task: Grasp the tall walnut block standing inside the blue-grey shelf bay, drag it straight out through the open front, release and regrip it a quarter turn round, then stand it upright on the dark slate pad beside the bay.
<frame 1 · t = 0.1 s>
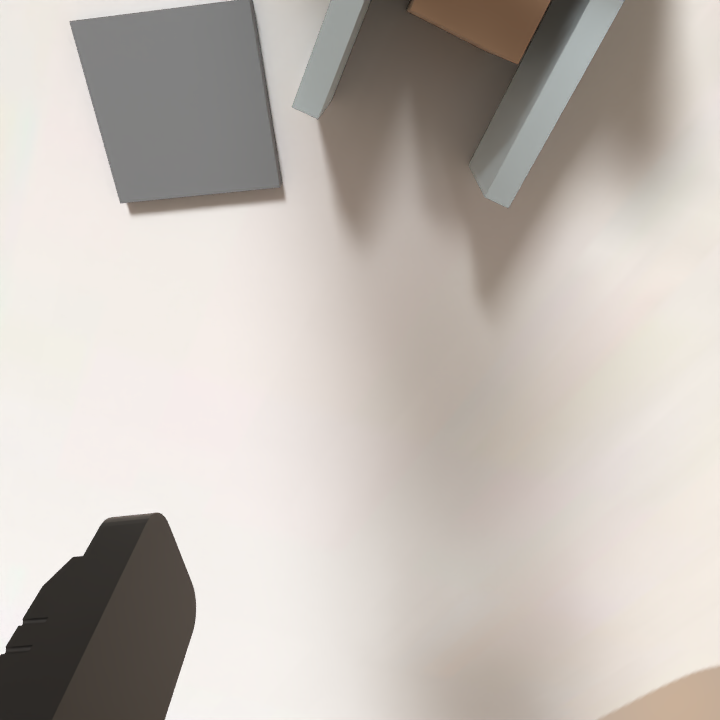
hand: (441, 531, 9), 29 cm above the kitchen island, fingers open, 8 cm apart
slate pad: (184, 106, 34), on the kitchen island
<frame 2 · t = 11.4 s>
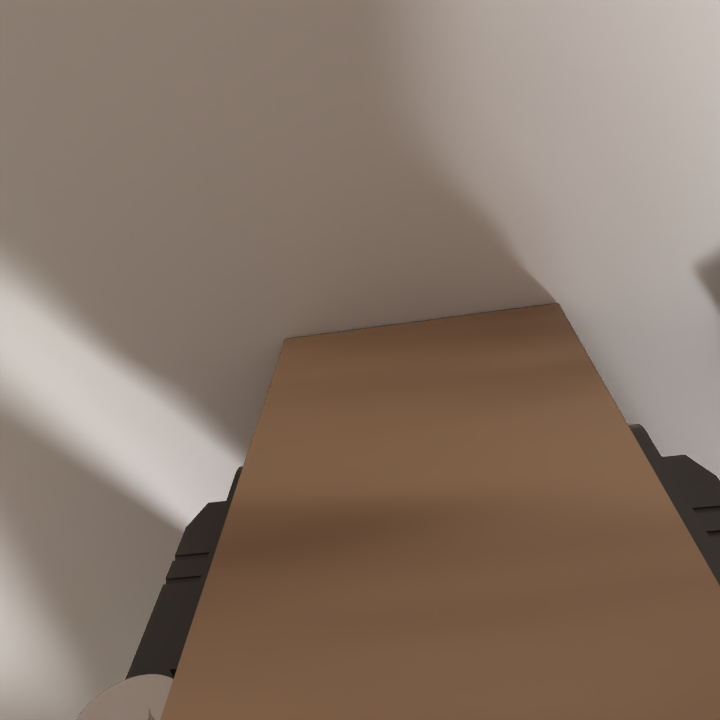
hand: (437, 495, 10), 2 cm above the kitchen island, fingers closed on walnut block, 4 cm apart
walnut block: (454, 649, 8), on the kitchen island, touching gripper
when the fingers open (4 cm above the kitchen island, at t = 15.8 s): walnut block stays where it is, resting on slate pad.
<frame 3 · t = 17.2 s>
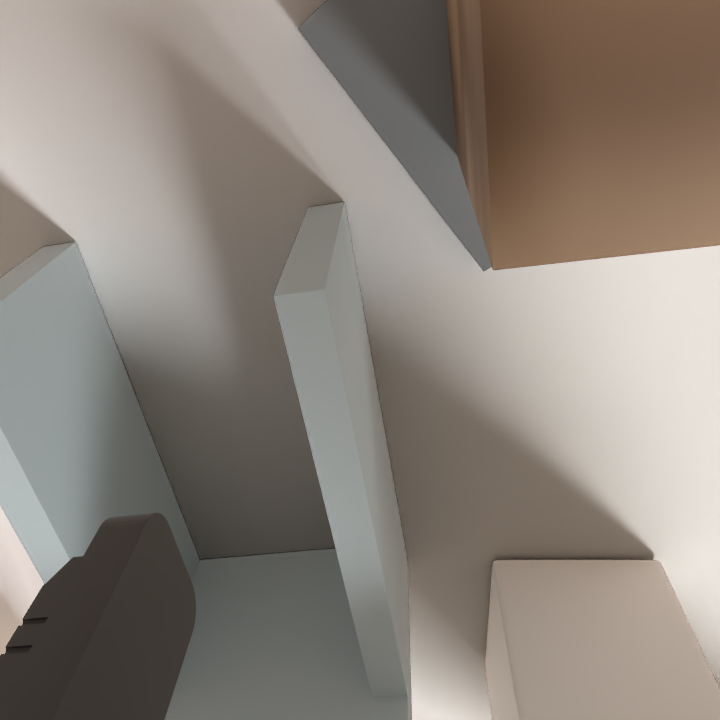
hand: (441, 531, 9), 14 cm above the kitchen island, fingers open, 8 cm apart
walnut block: (569, 81, 14), on the slate pad, point 5 cm above the kitchen island
slate pad: (524, 52, 18), on the kitchen island
milk carton: (564, 608, 30), on the kitchen island
shelf bay: (245, 412, 25), on the kitchen island
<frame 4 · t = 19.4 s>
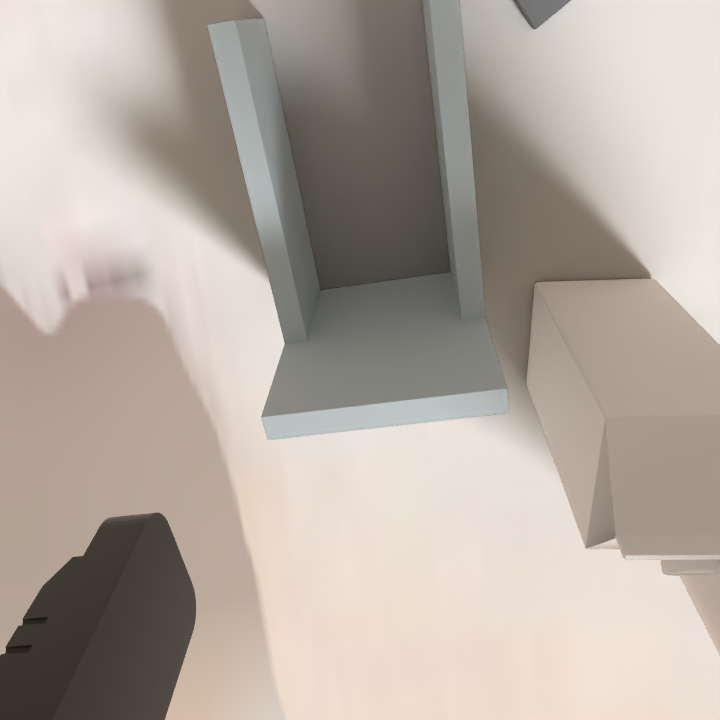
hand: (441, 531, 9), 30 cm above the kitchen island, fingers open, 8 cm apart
milk carton: (586, 331, 41), on the kitchen island
shelf bay: (365, 155, 36), on the kitchen island
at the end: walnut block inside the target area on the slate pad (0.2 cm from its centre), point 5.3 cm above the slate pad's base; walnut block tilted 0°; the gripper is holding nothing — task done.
